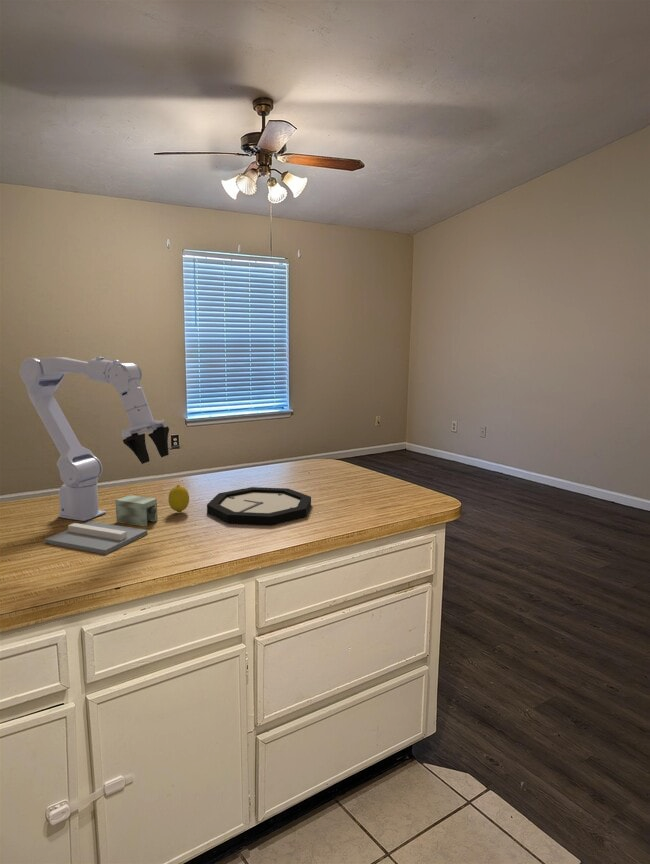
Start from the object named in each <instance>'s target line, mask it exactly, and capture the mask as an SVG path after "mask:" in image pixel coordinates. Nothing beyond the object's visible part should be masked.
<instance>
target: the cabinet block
mask: <svg viewBox="0 0 650 864" xmlns="http://www.w3.org/2000/svg"><path fill="white" fill-rule="evenodd" d="M114 501H115V516H116V523H123V524H128V525H135V526H142V527H146V526H148V521H150V522H156V521H158V498H155V497H148V496H140V495H134V494H133V495H132V494H127V495H125V496H122V497H120V498H117V499H115V500H114Z"/></svg>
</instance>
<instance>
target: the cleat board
mask: <svg viewBox="0 0 650 864" xmlns="http://www.w3.org/2000/svg"><path fill="white" fill-rule="evenodd" d="M147 535H148V530H147V529H143V528H137V527H130V526H124V525H119V524H111V523H105V522H98V521H93V520H88V521H85V522H84V523H78V522H74V523H71V524H68V525H67V529H66V530H64V531H61V532H59V533H56V534H54V535H50V536H48V537H45V538H44V543H45V542H46V543H45V544H47V543H49V544H48V545H54V546H60V547H64V548H69V549H76V550H81V551H87V552H91V553H96V554H101V555H107V554H109V553H112V552H113V551H116V550H118V549H119V548H121V547H124V546H126V545H128V544H131V543H132V542H134V541H136V540H138V539H140V538H142V537H144V536H147Z"/></svg>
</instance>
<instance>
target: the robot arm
mask: <svg viewBox="0 0 650 864" xmlns="http://www.w3.org/2000/svg"><path fill="white" fill-rule="evenodd" d="M69 373H71V374H81V375H86V376H87V378H88V379H89V380H91V381H93V382H99V383H106V384H110V385H112V386H113V388H115V389H116V393H118V395H119V397H120V399H121V400H120V401H121V402H122V406H123V408H124V410H125V413H126V416H127V419H128V422H129V425H130V427H128V428H125V429H122V430H120V434H121V436H122V442H123V444H124V445H125V446H126V447H128V448H129V450H131V451H132V453H134V455H135V456H136V458H137V459H138V461H139V462H140V463H141V465H144V464H146V463H149V462H150V460H151V459H150V456H149V452H148V449H147V445H146V433H148V434H147V436H148V437H149V438H150V439H151V441H152V442H153V444H154V445H155V448H156V450H157V452H158V454H159V456H160V457H161V458H163V457H167V456H168V455H170V454H169V432H170V428H169V426H167V424H166V421H165V419H162V420H157V419H156V420H154V419H155V418H154V417H153V414H152V413H153V412H152V411H151V409H150V406H149V403H148V400H147V397H146V395H145V391H144V389H143V387H142V384H141V380H142V370H141V368H140V366H139V365H138V364H136V363H133V362H131V361H128V362H121V361H120V360H119V359H114V360H108V359H105V357H104V356H95V358H92V359H90V360H89V361H84V360H79V359H75V358H71V357H65V356H64V357H63V356H62V357H60V356H56V357H37V358H36V357H27V358H25V359H24V360H23V361H22V363H21V365H20V369H19V373H18V375H19V377H20V378H21V381H22V382H23V384H24V386H25V388H26V391H27V395H28V398H29V400H30V402H31V404H32V405H33V407H34V409H35V411H36V413H37V414H38V415H37V416H38V417H39V418H40V420H41V421H42V423H43V424H42V425H44V427H45V429H46V431H47V433H48V434H49V437H50V438H51V440H52V442H53V444H54V445H55V447H56V449H57V451H58V453H59V454H60V456H59V457H58V460H57V461H56V467H57V468H58V472H59V477H60V479H61V481H62V483H63V484H62V485H61V486H60V488H59V490H58V500H59V501H58V502H59V503H58V504H59V514H57V517H58V518H62V519H69V520H76V521H80V522H87V521H90V520H92V519H94V518H96V517H98V516H101V515H104V514H106V513H107V511H106V510H101V509H99V496H98V493H99V492H98V482H99V478H100V477H101V475H102V473H103V465H102V462H101V460H100V459H99V458H98V457H96V456H95V455H94V453H93V452H92V450H91V449H89V448H87V447H85V446H82V444H81V442H80V441H79V439H78V437H77V436H76V434H75V432H74V431H73V428H72V427H71V424H70V423H69V422H68V419H67V418H66V416H65V414H64V413H63V410H62V409H61V407H60V405H59V403H58V401H57V399H56V397H55V396H54V395H55V392H56V391H57V389H58V388H59V387H60V385H61V383H62V382H63V379H64V378H65V376H66V375H67V374H69ZM149 432H150V433H149Z"/></svg>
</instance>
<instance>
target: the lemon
mask: <svg viewBox="0 0 650 864" xmlns="http://www.w3.org/2000/svg"><path fill="white" fill-rule="evenodd" d="M189 504H190V495H189V492H188V490H187V489H186V488H185V486H182V485H180V484H177V485H176V486H174V487H172V488H171V490H170V491H169V492H168V505H169V507H170V508H171V509H172V511H175V512H177V513H180V514H181V513H182V512H183V511H184V510H186V509H187V508H188V506H189Z"/></svg>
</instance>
